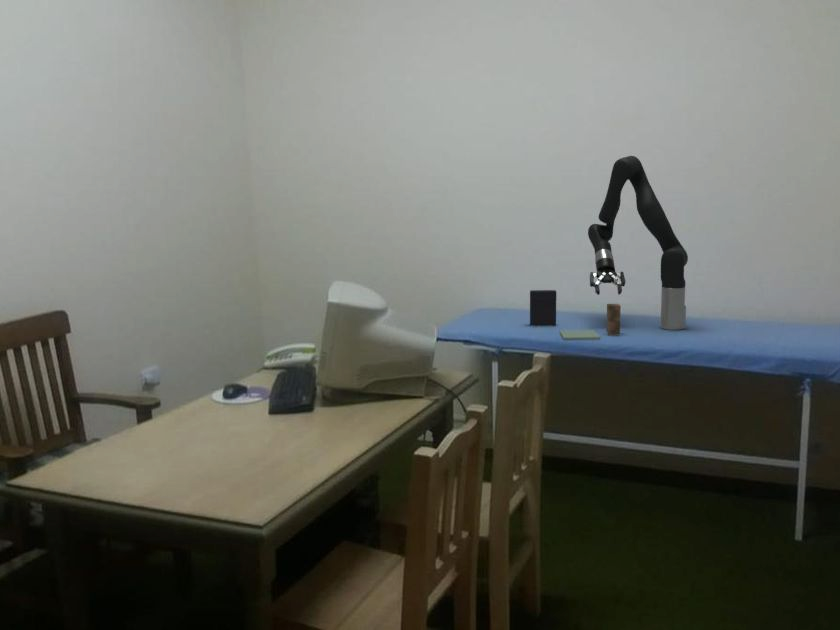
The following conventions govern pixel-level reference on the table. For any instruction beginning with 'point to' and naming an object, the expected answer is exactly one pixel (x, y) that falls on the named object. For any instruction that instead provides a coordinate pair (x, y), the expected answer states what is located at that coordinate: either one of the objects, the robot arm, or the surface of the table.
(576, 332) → the mat
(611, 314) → the walnut block
